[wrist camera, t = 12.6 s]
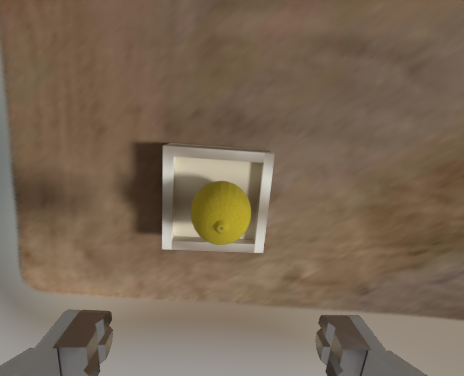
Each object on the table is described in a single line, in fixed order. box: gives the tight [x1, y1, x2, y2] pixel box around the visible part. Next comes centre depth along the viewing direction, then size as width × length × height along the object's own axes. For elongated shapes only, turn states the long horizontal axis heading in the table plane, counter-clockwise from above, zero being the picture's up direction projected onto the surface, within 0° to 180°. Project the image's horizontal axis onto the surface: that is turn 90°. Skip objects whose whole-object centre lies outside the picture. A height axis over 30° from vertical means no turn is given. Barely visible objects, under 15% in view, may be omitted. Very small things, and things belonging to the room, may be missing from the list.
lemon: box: [191, 181, 251, 245], centre depth 22 cm, size 6×6×8 cm
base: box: [162, 143, 275, 253], centre depth 27 cm, size 11×11×4 cm
